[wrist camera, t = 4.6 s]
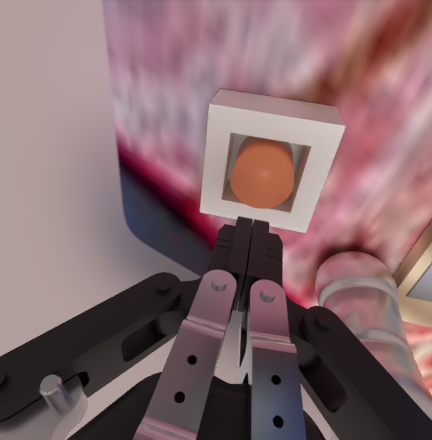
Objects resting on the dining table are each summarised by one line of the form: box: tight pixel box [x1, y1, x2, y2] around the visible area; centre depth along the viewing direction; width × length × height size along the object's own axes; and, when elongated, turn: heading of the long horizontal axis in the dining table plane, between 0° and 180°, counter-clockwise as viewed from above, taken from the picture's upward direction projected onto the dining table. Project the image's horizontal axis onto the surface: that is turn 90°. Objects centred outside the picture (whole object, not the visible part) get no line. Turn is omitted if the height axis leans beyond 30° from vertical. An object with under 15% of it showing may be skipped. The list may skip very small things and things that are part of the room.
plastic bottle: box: [315, 251, 432, 440], centre depth 20 cm, size 6×7×20 cm
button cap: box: [230, 136, 294, 209], centre depth 20 cm, size 4×4×4 cm
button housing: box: [200, 89, 346, 233], centre depth 21 cm, size 8×8×4 cm
